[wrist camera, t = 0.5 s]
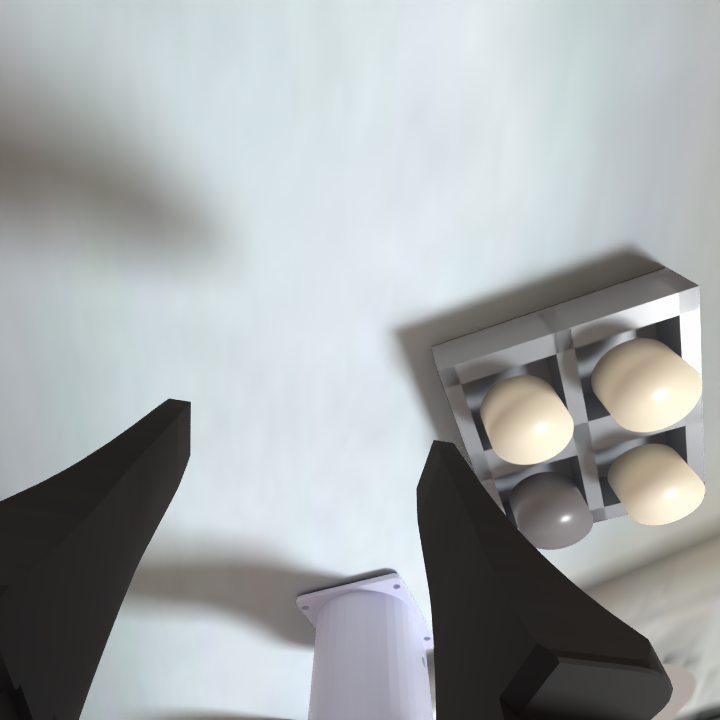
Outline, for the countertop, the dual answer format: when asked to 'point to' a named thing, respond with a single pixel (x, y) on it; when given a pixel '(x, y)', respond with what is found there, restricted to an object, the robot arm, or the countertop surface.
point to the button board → (576, 381)
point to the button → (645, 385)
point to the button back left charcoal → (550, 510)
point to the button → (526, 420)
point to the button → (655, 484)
